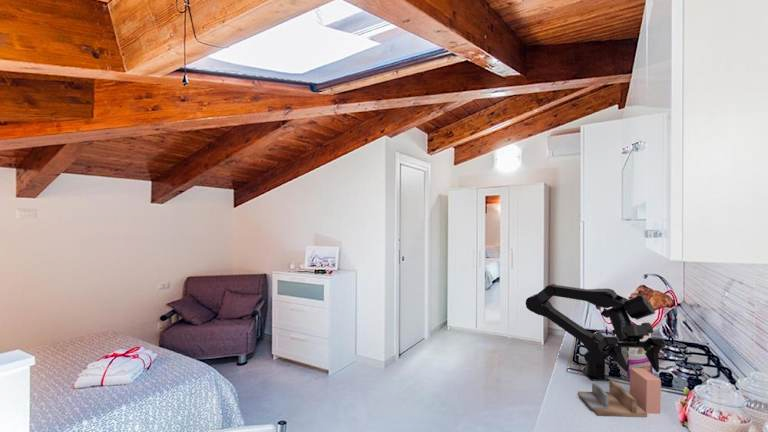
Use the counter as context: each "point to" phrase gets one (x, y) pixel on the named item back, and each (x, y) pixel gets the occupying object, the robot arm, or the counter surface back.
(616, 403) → the book rack
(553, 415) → the counter surface
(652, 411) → the pink rectangular block
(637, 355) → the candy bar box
